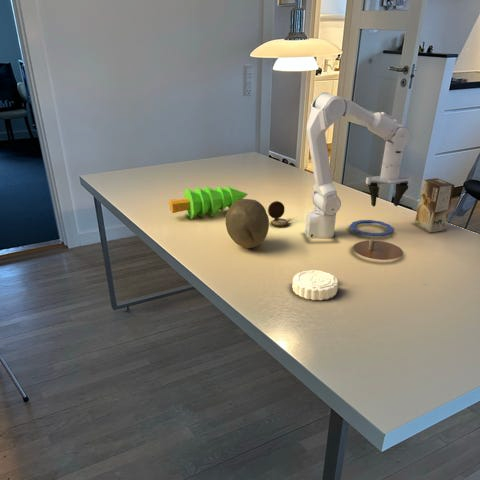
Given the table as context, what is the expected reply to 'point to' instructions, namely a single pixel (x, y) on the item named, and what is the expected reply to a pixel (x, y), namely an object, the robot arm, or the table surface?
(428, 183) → the coffee box
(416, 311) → the table surface
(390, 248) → the platform
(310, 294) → the mooncake
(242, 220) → the brown coconut
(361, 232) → the ring
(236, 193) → the decorative tree
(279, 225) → the compass
